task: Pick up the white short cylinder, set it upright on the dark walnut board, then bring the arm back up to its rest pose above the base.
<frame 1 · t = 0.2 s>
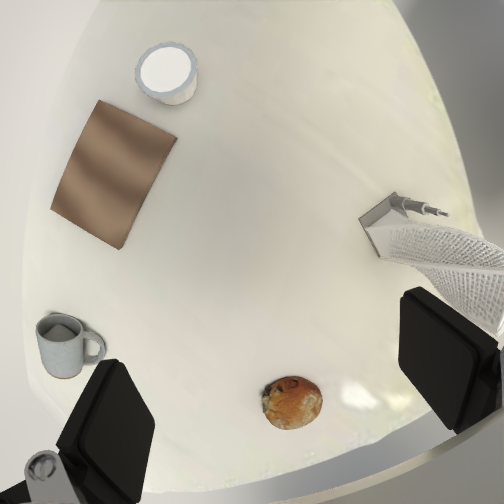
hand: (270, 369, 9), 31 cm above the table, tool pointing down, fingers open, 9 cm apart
walnut board: (109, 173, 35), on the table
skyscraper: (385, 231, 41), on the table
bread roll: (288, 395, 48), on the table
ceramic mug: (77, 336, 41), on the table
white short cylinder: (175, 85, 33), on the table
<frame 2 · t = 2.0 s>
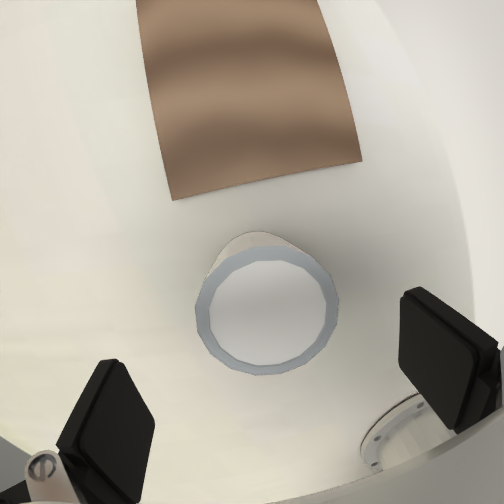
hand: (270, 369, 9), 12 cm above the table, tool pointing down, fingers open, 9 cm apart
walnut board: (241, 64, 17), on the table
white short cylinder: (256, 271, 21), on the table
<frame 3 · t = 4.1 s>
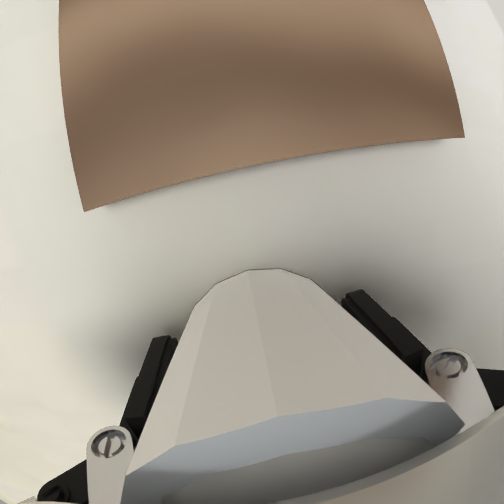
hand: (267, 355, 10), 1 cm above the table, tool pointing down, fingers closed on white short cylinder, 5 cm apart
white short cylinder: (263, 339, 11), on the table, touching gripper
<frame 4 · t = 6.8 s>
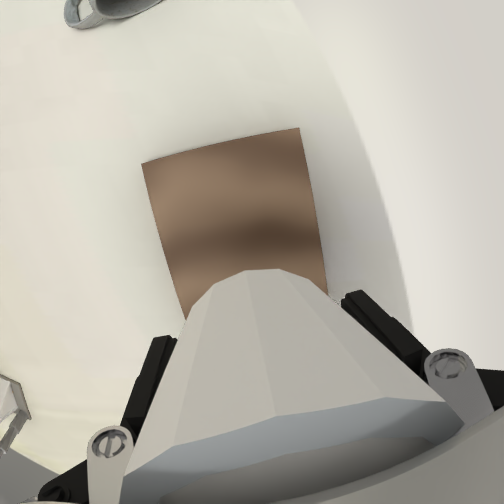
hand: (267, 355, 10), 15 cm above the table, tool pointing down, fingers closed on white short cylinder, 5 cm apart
walnut board: (242, 242, 25), on the table
skyscraper: (3, 387, 27), on the table
white short cylinder: (261, 339, 11), point 14 cm above the table, touching gripper
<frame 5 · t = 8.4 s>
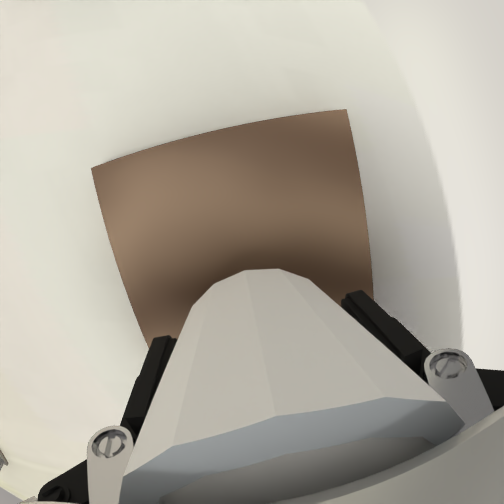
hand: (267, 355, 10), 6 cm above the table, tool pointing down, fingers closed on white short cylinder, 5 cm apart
walnut board: (253, 289, 16), on the table
white short cylinder: (261, 339, 11), point 5 cm above the table, touching gripper
when the fingers open (4 cm above the table, at t = 9.8 s): white short cylinder drops 1 cm, resting on walnut board.
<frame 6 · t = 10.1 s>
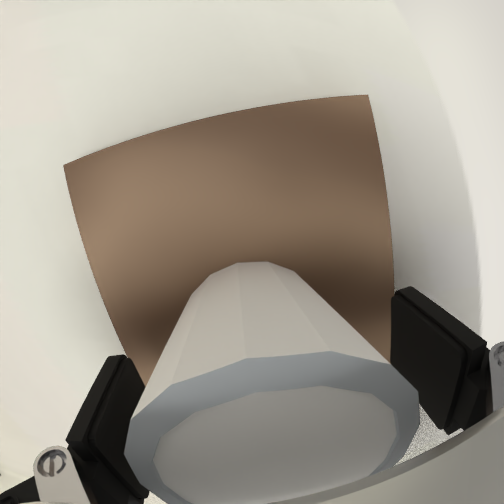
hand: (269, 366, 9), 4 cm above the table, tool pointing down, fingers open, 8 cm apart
walnut board: (255, 306, 13), on the table
white short cylinder: (252, 325, 12), point 1 cm above the table, touching walnut board
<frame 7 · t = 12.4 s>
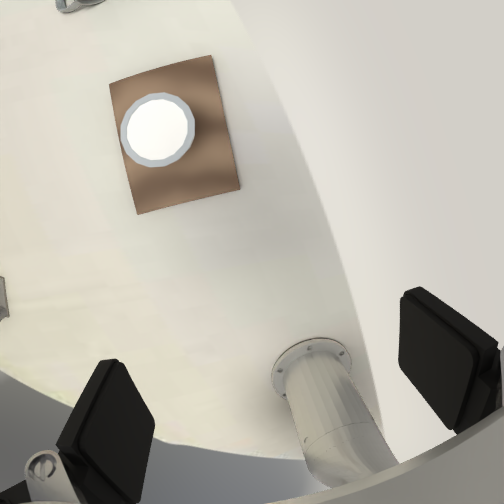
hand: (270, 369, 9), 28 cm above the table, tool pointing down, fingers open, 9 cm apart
walnut board: (173, 133, 32), on the table
white short cylinder: (169, 134, 30), point 1 cm above the table, touching walnut board
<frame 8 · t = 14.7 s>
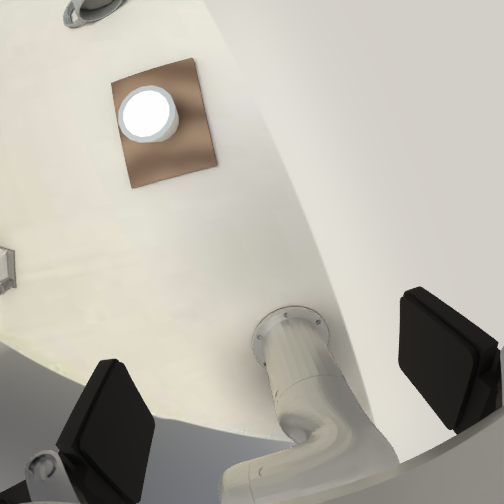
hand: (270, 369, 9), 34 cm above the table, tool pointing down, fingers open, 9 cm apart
walnut board: (162, 122, 38), on the table
skyscraper: (0, 261, 40), on the table
ceramic mug: (95, 7, 31), on the table
white short cylinder: (158, 122, 36), point 1 cm above the table, touching walnut board
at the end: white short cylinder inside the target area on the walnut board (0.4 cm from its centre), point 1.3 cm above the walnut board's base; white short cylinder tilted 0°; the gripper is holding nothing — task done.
